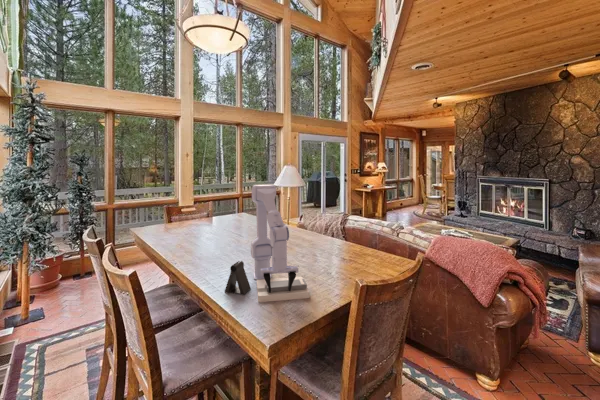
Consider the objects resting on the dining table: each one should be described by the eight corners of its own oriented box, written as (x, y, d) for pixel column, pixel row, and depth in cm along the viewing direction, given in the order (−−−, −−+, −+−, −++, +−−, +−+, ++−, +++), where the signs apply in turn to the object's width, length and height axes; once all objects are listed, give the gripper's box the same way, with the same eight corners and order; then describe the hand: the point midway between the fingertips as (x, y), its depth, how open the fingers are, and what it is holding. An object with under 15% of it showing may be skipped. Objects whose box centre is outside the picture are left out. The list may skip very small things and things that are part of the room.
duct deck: (256, 285, 126) (256, 279, 126) (301, 281, 130) (301, 276, 130) (258, 302, 111) (258, 296, 111) (309, 297, 114) (309, 291, 114)
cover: (264, 285, 119) (264, 281, 119) (303, 282, 122) (303, 278, 122) (265, 292, 113) (265, 287, 113) (306, 288, 116) (306, 284, 116)
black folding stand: (250, 289, 123) (250, 261, 121) (244, 295, 117) (243, 266, 116) (231, 286, 125) (231, 259, 124) (224, 292, 120) (223, 264, 118)
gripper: (261, 261, 106) (261, 296, 108) (299, 259, 109) (299, 293, 110) (260, 255, 113) (260, 289, 115) (296, 253, 116) (296, 286, 117)
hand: (279, 291), depth 113 cm, fingers open, 7 cm apart
